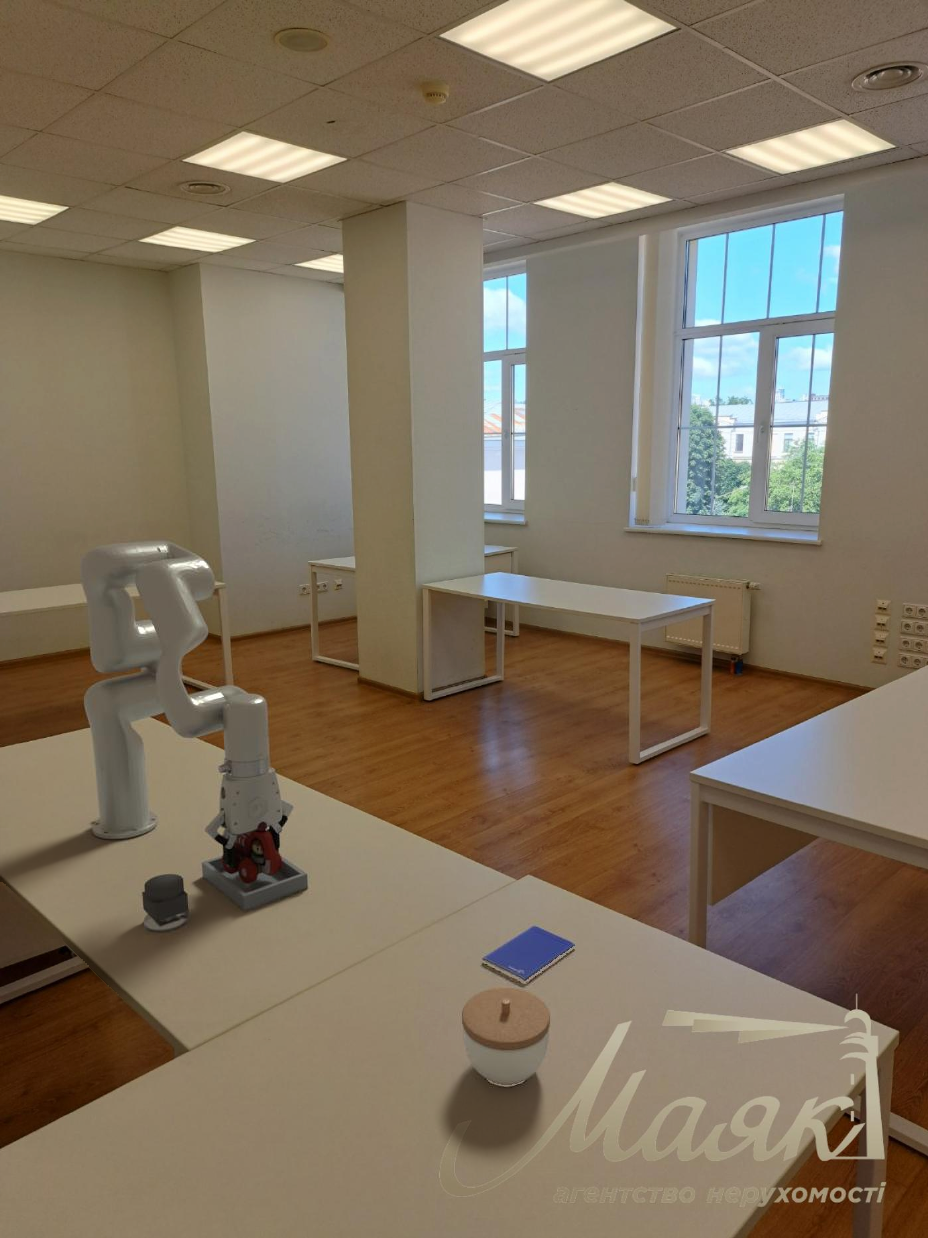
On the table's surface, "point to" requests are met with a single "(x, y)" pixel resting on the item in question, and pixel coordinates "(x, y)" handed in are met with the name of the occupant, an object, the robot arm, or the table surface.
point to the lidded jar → (505, 1034)
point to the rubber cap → (165, 897)
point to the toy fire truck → (255, 855)
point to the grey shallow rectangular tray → (255, 884)
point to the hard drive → (528, 952)
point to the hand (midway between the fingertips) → (252, 858)
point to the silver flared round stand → (166, 923)
